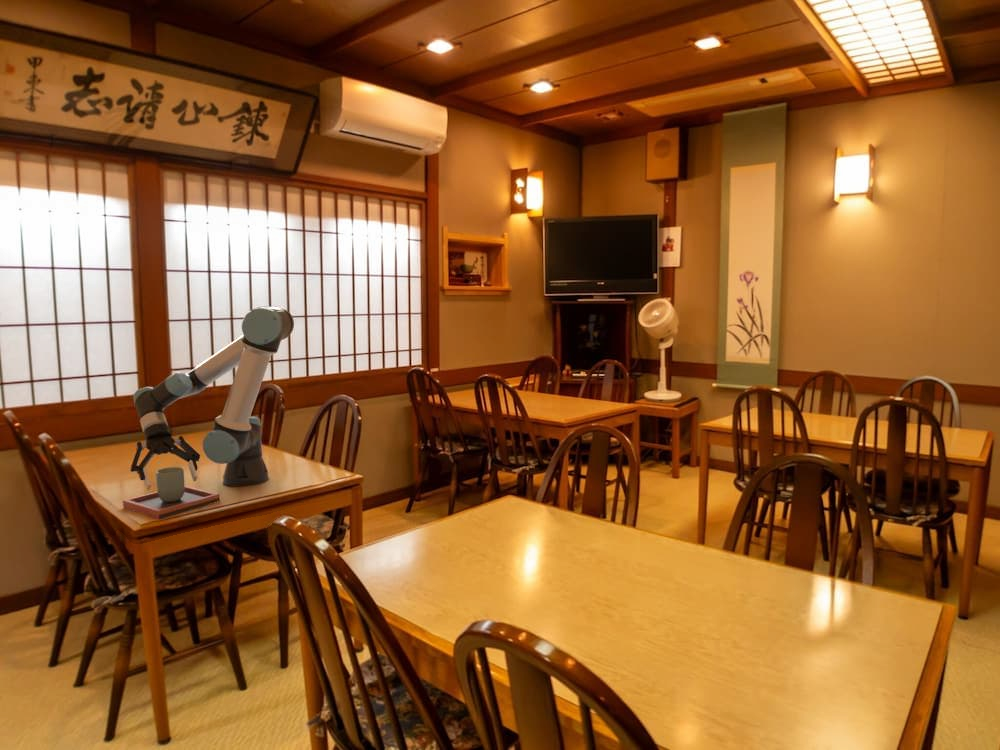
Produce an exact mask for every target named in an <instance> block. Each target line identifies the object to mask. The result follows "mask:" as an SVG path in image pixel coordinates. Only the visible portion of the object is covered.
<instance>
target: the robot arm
mask: <svg viewBox="0 0 1000 750" xmlns="http://www.w3.org/2000/svg"><path fill="white" fill-rule="evenodd" d="M294 320H295V319H294V318H293V315H292V314H291V312H289V310H288V309H286V308H284V307H281V306H259V307H256V308H253V309H251V310H250V311H248V312H247V313H246V314H245V315H244V317H243V319H242V321H241V332H242V335H241V336H239V337H238V338H237V339H235V340H234V341H232V342H231V343H229V344H228V345H227V346H224V348H222V349H220V350H219V351H217V352H216V353H215V354H213V355H212V356H209V358H207V359H205V360H204V361H202V362H201V363H200V364H198V365H197V366H195V367H194V368H193V369H191V370H190V371H188V372H187V373H185V372H181V371H176V372H174V373H173V374H170V375H168V377H167V378H165V379H164V380H163V381H161V382H160V383H158V384H157V385H156V386H154V387H153V386H145V387H143V388H138V389H137V390H136V391H135V392H134V394H133V396H132V397H133V403H134V407H135V410H136V412H137V415H138V419H139V422H140V426H141V429H142V432H143V436H144V440H145V442H144V443H142V442H141V441H137V443H136V447H135V448H136V449H135V450H136V452H135V454H134V458H133V459H132V462H131V466H130V472H131V473H134V472H136V473H137V474H138V477H139V480H140V481H144V484H145V488H146V491H150V490H151V485H152V484H151V480H150V478H149V474H148V469H147V468H146V467H147V465H148V463H149V462H150V461H151V459H152V458H153V457H154V455H158V456H159V455H164V454H165V455H166V454H168V453H169V454H171V455H175V456H177V457H179V458H180V459H181V460H184V461H186V462H187V463H188V464H187V465H188V470H189V472H190V474H191V475H190V476H191V478H192V481H193V482H197V479H198V474H197V471H198V465H197V462H200V458H201V454H200V453H198V452H197V451H196V450H195V449H194V448H193V447H192V446H191V445H190V444H189V443H187V442H186V440H185V438H184V437H183V436H182V435H180V436H179V437H178V438H173V437H172V433H171V430H170V427H169V424H168V421H167V418H166V415H165V412H164V410H165V409H166V408H168V407H169V406H170V405H172V404H173V403H175V402H176V401H178V400H179V399H184V398H187V397H189V396H193V395H198V394H200V393H202V392H203V391H205V389H207V387H208V386H209V385H210V384H212V383H214V382H215V381H217V380H218V379H220V378H221V377H223V376H224V375H226V374H227V373H228V372H230V371H232V370H234V368H236V367H237V368H236V372H235V376H234V378H233V380H232V383H231V387H230V389H229V393H228V396H227V398H226V402H225V405H224V408H223V411H222V413H221V414H220V415H218V416H217V417H215V420H214V422H213V426H212V428H211V431H208V433H207V434H206V435H205V436H204V438H203V440H202V451H203V453H204V454H205V456H206V457H207V458H208V460H210V461H212V463H215V464H218V465H219V464H220V465H223V464H225V469H224V473H223V475H222V483H223V484H224V485H227V486H231V485H232V486H233V487H239V486H240V487H241V486H251V484H252V485H256V484H255V483H257V484H260V483H259V482H261V483H263V482H262V481H264V480H266V479H267V478H268V479H269V471H268V468H267V466H266V463H265V461H264V458H263V448H262V445H263V443H262V442H263V441H262V425H261V420H260V418H259V417H257V416H252V412H253V409H254V406H255V403H256V400H257V398H258V395H259V392H260V389H261V385H262V383H263V380H264V377H265V373H266V372H267V368H268V365H269V362H270V359H271V357H272V356H273V355H275V354H277V353H278V351H279V348H280V344H281V342H282V341H283V340H285V339H287V338H288V337H290V336H291V335H292V333H293V331H294V329H295V321H294ZM176 444H177V445H176ZM178 446H179V447H180V448H179V447H178ZM145 448H146V449H147V450H148V451H147V454H146V455H145V456H144V458H143V459H142V461H141V462H140V463H139V465H138V462H139V459H140V456H141V453H142V451H144V449H145ZM268 479H267V480H268ZM267 480H266V481H267ZM264 482H265V481H264Z"/></svg>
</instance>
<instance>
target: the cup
mask: <svg viewBox="0 0 1000 750" xmlns="http://www.w3.org/2000/svg"><path fill="white" fill-rule="evenodd" d="M185 481H186V480H185V470H184V467H180V466H169V467H163V468H160V469H157V470H156V472H155V484H156V492H158V496H159V498H160V500H161V501H163V502H167V503H170V502H176V501H178V500H180V499H181V498H182V497H183V495H184V489H185V485H186V484H185Z"/></svg>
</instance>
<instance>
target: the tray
mask: <svg viewBox="0 0 1000 750" xmlns="http://www.w3.org/2000/svg"><path fill="white" fill-rule="evenodd" d="M217 501H219V502H220V501H221V500H220V493H216V492H213V491H209V490H205V489H200V488H197V487H193V486H190V485H186V484H185V489H184V495H183V497H182V498H181V499H180V500H178V501H176V502H170V503H167V502H163V501H161V500H160V498H159V496H158V492H157V491H155V492H150V493H147V494H143V495H142V494H141V495H138V496H135V497H131V498H126V499H122V508H123V507H124V508H123V509H126V508H127V509H126V510H129V509H130V510H129V511H132V510H134V511H133V512H135V511H137V512H136V513H138V512H140V513H139V514H141V513H143V514H142V515H144V514H146V515H145V516H148V517H151V518H154V519H157V520H161V519H165V518H167V517H172V516H174V515H178V514H182V513H184V512H188V511H192V510H194V509H199V508H201V507H206V506H209V505H212V504H215V503H214V502H216V503H218V502H217ZM211 503H212V504H211ZM208 504H209V505H208Z"/></svg>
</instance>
